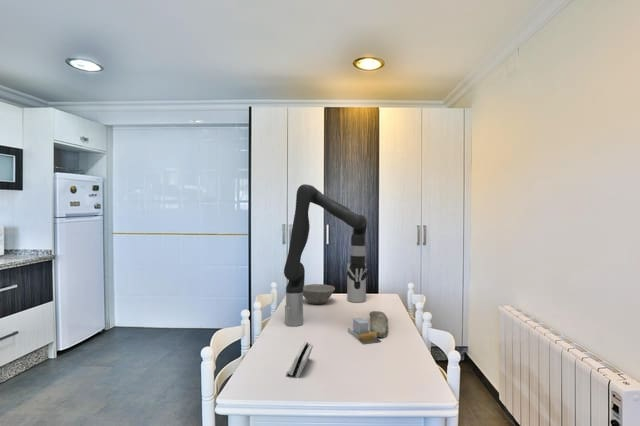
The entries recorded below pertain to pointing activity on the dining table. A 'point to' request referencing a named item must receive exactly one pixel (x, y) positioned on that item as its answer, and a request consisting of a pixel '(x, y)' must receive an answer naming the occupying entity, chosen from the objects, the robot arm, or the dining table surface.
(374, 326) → the long grey stone
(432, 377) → the dining table surface
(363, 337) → the rail mount
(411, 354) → the dining table surface
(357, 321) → the module
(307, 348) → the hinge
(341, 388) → the dining table surface
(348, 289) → the cylinder vase
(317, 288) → the ceramic bowl
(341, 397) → the dining table surface
